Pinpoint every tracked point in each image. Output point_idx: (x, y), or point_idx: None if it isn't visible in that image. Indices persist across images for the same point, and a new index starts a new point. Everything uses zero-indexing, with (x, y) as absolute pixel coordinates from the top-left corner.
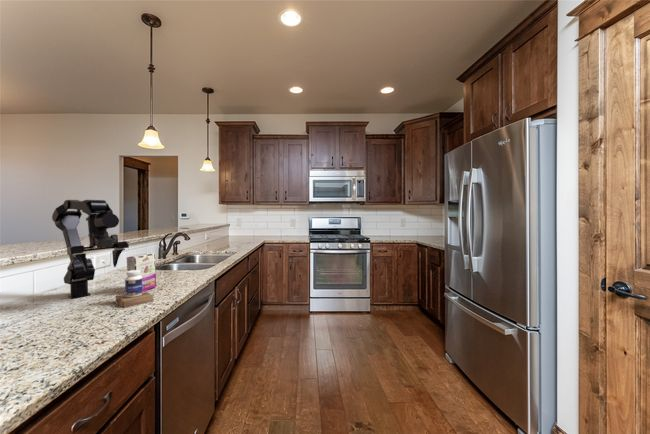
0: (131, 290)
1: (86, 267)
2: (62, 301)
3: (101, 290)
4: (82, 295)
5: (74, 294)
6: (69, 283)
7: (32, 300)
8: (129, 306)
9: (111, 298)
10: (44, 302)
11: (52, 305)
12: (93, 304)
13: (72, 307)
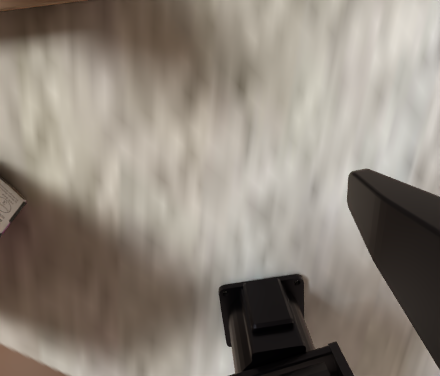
0: None
1: (400, 193)
2: (337, 254)
3: (167, 346)
4: (256, 281)
5: (289, 299)
6: (338, 346)
7: (412, 342)
8: None
9: (124, 144)
10: None
11: None
12: (227, 67)
13: (329, 88)
